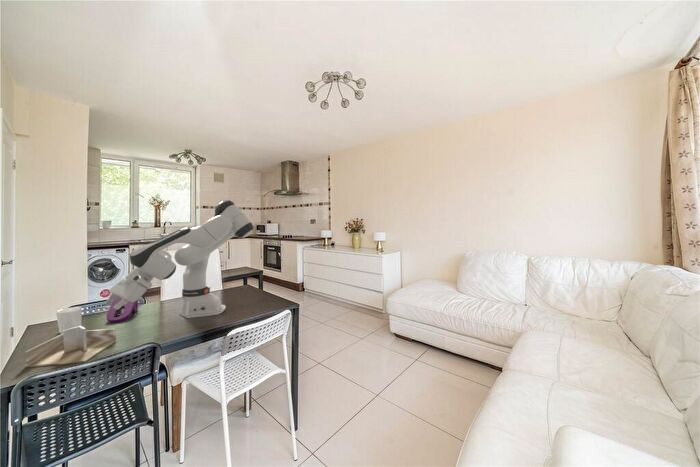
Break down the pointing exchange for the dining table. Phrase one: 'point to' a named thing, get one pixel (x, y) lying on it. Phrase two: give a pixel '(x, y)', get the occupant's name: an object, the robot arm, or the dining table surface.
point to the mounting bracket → (128, 310)
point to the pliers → (104, 310)
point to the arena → (55, 355)
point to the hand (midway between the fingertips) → (110, 306)
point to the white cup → (69, 318)
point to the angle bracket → (74, 339)
